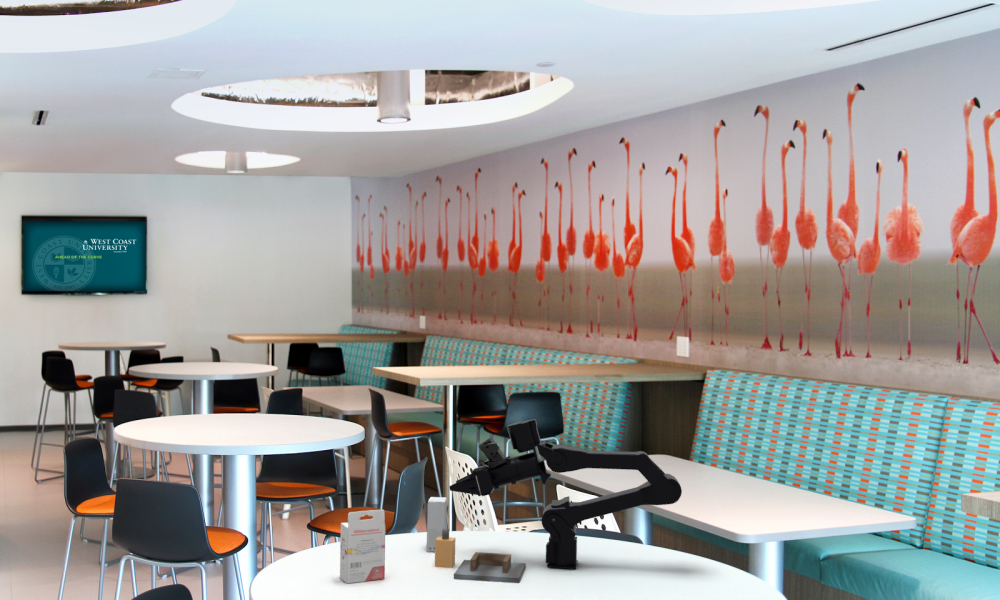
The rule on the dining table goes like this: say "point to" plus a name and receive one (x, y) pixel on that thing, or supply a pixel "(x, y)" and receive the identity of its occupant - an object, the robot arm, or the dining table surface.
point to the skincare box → (435, 520)
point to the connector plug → (445, 550)
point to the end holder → (490, 568)
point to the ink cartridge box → (363, 547)
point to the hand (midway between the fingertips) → (453, 485)
